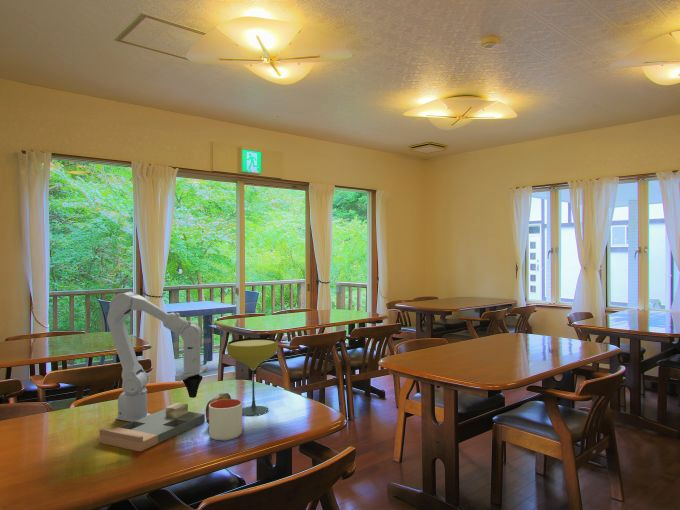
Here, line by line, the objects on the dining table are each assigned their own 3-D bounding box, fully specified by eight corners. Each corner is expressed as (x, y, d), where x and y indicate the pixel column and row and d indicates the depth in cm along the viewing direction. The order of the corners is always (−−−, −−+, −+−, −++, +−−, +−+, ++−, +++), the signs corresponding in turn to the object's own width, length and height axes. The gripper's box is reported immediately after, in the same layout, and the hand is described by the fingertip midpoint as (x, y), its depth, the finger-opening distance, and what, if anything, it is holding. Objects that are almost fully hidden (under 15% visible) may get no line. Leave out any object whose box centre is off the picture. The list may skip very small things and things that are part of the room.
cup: (248, 431, 149) (247, 400, 149) (231, 443, 140) (230, 410, 140) (221, 428, 152) (220, 397, 153) (202, 439, 143) (202, 407, 143)
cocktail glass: (281, 416, 163) (280, 344, 163) (228, 421, 159) (227, 347, 159) (275, 401, 180) (274, 336, 181) (227, 405, 176) (226, 339, 176)
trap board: (99, 442, 142) (99, 429, 142) (167, 415, 167) (167, 403, 167) (140, 451, 135) (140, 437, 135) (204, 421, 159) (204, 409, 159)
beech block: (165, 416, 158) (165, 407, 158) (177, 411, 163) (177, 402, 163) (176, 417, 156) (175, 408, 156) (187, 412, 161) (187, 404, 161)
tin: (212, 429, 152) (212, 403, 152) (204, 428, 153) (203, 402, 153) (232, 414, 167) (232, 390, 167) (224, 413, 168) (224, 389, 168)
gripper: (185, 363, 158) (186, 404, 158) (214, 355, 171) (215, 392, 171) (170, 362, 161) (170, 401, 161) (199, 354, 174) (200, 390, 174)
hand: (192, 397), depth 166 cm, fingers closed
